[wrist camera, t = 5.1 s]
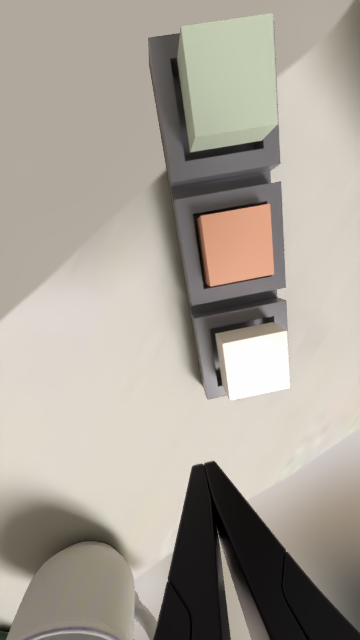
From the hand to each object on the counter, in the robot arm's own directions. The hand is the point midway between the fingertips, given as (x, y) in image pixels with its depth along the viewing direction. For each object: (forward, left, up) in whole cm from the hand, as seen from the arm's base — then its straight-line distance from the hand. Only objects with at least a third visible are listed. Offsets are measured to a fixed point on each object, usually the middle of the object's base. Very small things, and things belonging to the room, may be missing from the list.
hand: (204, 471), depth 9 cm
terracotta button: (-7, -5, -11) cm, 14 cm away
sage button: (-10, -13, -10) cm, 19 cm away
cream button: (-5, +3, -10) cm, 11 cm away
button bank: (-7, -5, -12) cm, 15 cm away
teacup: (+20, +18, -12) cm, 30 cm away
